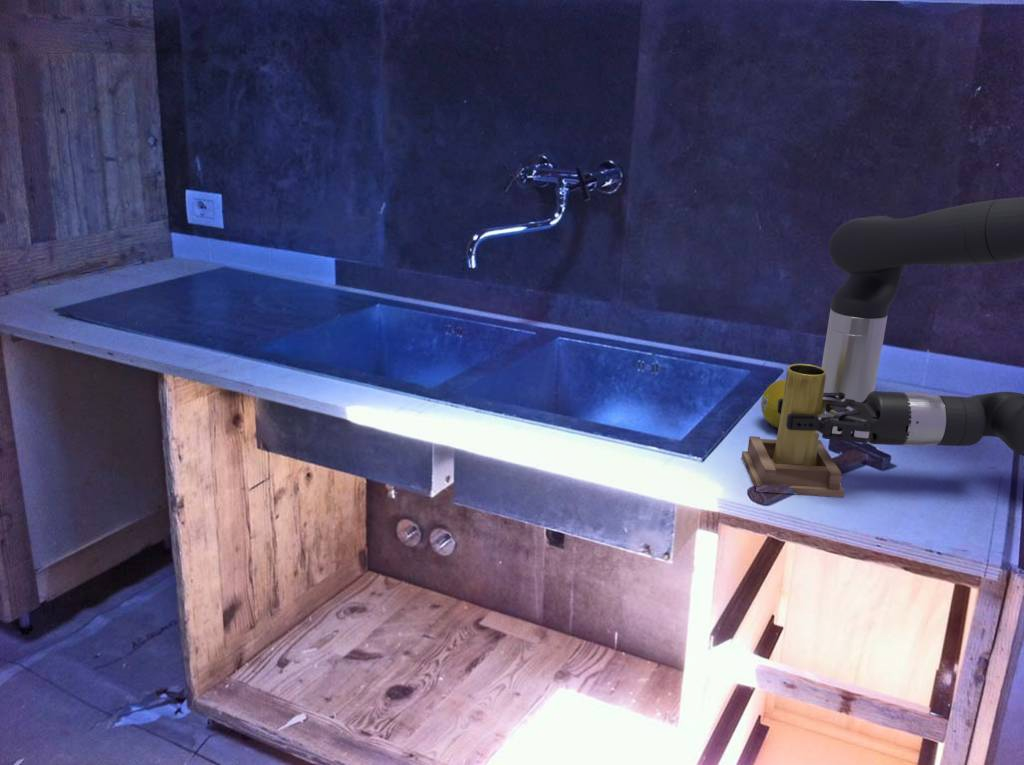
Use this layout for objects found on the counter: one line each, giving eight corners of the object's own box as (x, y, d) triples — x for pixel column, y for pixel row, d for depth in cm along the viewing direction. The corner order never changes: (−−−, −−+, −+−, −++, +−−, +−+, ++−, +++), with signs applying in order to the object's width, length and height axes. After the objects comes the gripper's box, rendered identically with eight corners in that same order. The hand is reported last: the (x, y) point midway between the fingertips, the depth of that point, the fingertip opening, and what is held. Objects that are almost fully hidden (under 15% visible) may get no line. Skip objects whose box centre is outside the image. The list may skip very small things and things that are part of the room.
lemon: (755, 414, 160) (761, 370, 157) (802, 418, 159) (809, 373, 156) (762, 438, 149) (768, 391, 147) (812, 443, 148) (819, 396, 146)
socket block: (741, 457, 142) (744, 435, 141) (821, 461, 142) (825, 440, 140) (756, 492, 131) (759, 469, 130) (843, 497, 130) (847, 474, 129)
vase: (814, 474, 132) (828, 378, 127) (770, 467, 134) (781, 372, 129) (817, 458, 137) (831, 366, 132) (775, 451, 139) (786, 360, 134)
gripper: (891, 377, 138) (774, 372, 138) (926, 412, 124) (797, 406, 125) (883, 424, 140) (768, 419, 141) (916, 464, 127) (790, 458, 127)
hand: (782, 413), depth 133 cm, fingers closed on vase, 5 cm apart
